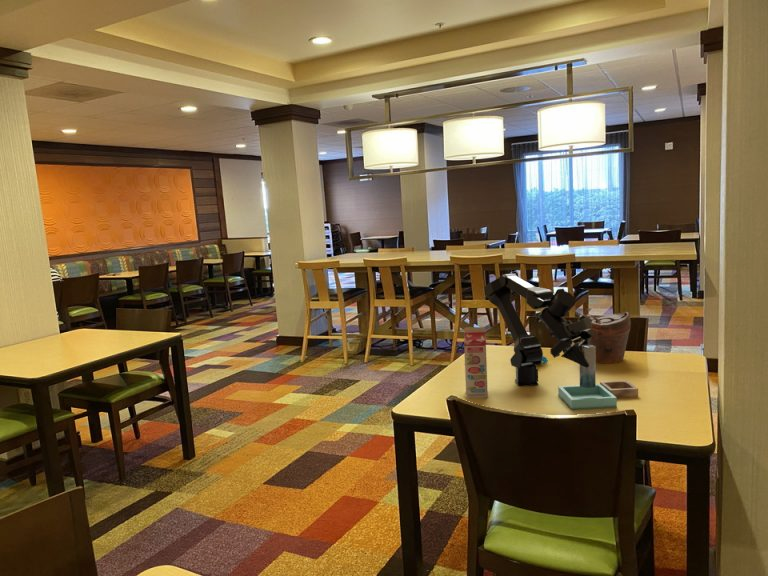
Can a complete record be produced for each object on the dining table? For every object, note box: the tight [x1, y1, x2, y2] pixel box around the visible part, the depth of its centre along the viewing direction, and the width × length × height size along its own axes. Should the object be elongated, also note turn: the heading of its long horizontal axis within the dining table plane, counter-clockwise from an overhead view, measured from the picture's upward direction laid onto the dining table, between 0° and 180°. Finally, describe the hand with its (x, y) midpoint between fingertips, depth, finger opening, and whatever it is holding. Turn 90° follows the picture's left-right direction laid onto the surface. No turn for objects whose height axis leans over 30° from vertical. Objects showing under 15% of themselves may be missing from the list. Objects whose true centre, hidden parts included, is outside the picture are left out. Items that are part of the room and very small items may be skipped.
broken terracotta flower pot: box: [577, 311, 632, 364], centre depth 220 cm, size 18×20×18 cm
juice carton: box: [463, 326, 489, 399], centre depth 187 cm, size 7×7×22 cm
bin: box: [557, 383, 618, 411], centre depth 177 cm, size 13×13×3 cm
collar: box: [599, 379, 639, 399], centre depth 183 cm, size 8×8×2 cm
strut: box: [579, 345, 597, 388], centre depth 176 cm, size 4×4×12 cm
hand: (591, 364), depth 174 cm, fingers closed on strut, 4 cm apart
